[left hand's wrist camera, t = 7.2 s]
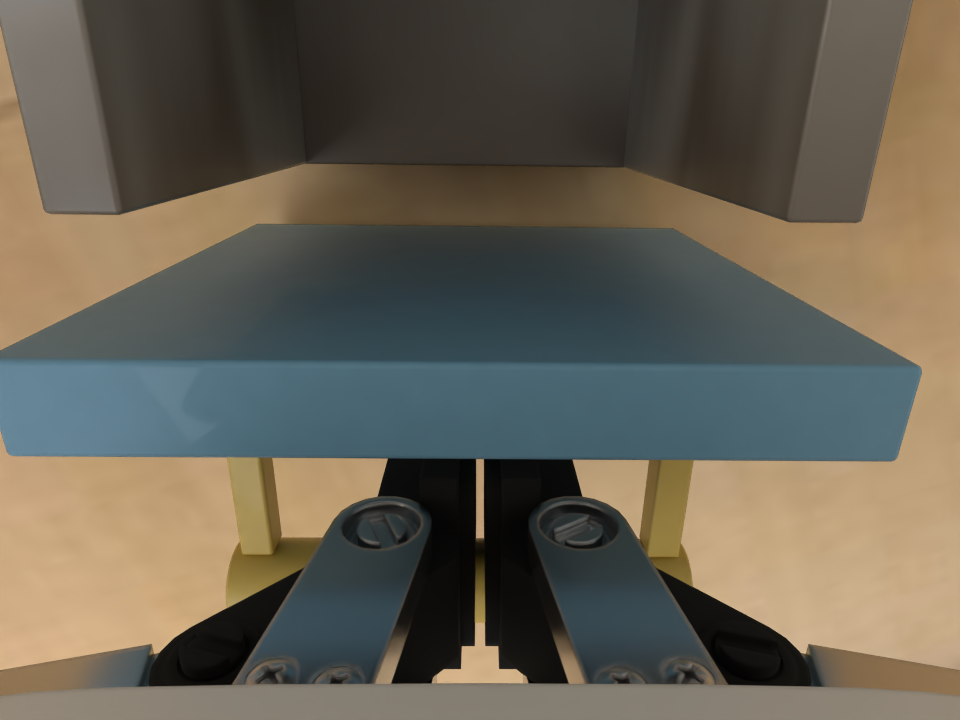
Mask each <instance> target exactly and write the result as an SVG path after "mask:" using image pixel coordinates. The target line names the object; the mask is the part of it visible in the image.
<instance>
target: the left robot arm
mask: <svg viewBox="0 0 960 720" xmlns="http://www.w3.org/2000/svg"><path fill="white" fill-rule="evenodd" d="M484 561H485V646H498V648H499V669H517V670H518V671H520V672H521V673H522V674H523V684H511V683H449V684H437V674H438V673H439V672H441V671H442V670H443V669H461V650H462V646H475V567H476V459H413V458H388V461H387V464H386V468H385V472H384V475H383V479H382V483H381V486H380V490H379V494H378V497H374V498H369V499H365V500H362V501H359V502H357V503H354V504H352V505H350V506H349V507H347V508H346V509H344V510H342V511H341V512H340V513H339V515H338V516H337V517H336V518H335V519H334V520H333V522H332V524H331V525H330V527H329V528H328V530H327V532H326V533H325V535H324V537H323V538H322V540H321V541H320V543H319V545H318V546H317V548H316V550H315V551H314V553H313V554H312V556H311V558H310V559H309V561H308V562H307V564H306V566H305V567H304V568H302V569H300V570H298V571H297V572H295V573H293V574H291V575H289V576H287V577H285V578H283V579H281V580H279V581H278V582H276V583H274V584H272V585H270V586H268V587H266V588H264V589H262V590H261V591H259V592H257V593H255V594H253V595H251V596H249V597H247V598H245V599H244V600H242V601H240V602H238V603H236V604H234V605H232V606H230V607H228V608H226V609H225V610H223V611H221V612H219V613H217V614H215V615H213V616H211V617H209V618H208V619H206V620H204V621H202V622H200V623H198V624H196V625H194V626H192V627H191V628H189V629H188V630H186V631H184V632H183V633H181V634H180V635H178V636H177V637H175V638H174V639H173V640H172V641H171V642H170V643H169V644H168V645H167V646H166V647H165V648H164V649H163V650H162V651H161V652H160V653H157V654H154V652H153V648H152V644H150V645H144V646H138V647H132V648H126V649H121V650H115V651H109V652H103V653H97V654H92V655H86V656H80V657H74V658H69V659H63V660H57V661H51V662H45V663H40V664H34V665H28V666H22V667H17V668H11V669H5V670H0V720H960V670H955V669H949V668H943V667H938V666H932V665H926V664H920V663H915V662H909V661H903V660H897V659H891V658H886V657H880V656H874V655H868V654H863V653H857V652H851V651H845V650H839V649H834V648H828V647H822V646H816V645H811V644H808V648H807V652H806V654H803V653H800V652H799V651H798V650H797V649H796V648H795V647H794V646H793V645H792V644H791V643H790V642H789V641H788V640H787V639H786V638H785V637H783V636H782V635H780V634H779V633H777V632H776V631H774V630H773V629H771V628H770V627H768V626H766V625H764V624H762V623H760V622H758V621H756V620H754V619H753V618H751V617H749V616H747V615H745V614H743V613H741V612H739V611H737V610H735V609H734V608H732V607H730V606H728V605H726V604H724V603H722V602H720V601H718V600H717V599H715V598H713V597H711V596H709V595H707V594H705V593H703V592H701V591H700V590H698V589H696V588H694V587H692V586H690V585H688V584H686V583H684V582H682V581H681V580H679V579H677V578H675V577H673V576H671V575H669V574H667V573H665V572H664V571H662V570H660V569H658V568H656V567H655V566H654V564H653V562H652V561H651V559H650V558H649V556H648V554H647V553H646V551H645V550H644V548H643V546H642V545H641V543H640V541H639V540H638V538H637V537H636V535H635V533H634V532H633V530H632V528H631V527H630V525H629V524H628V522H627V520H626V519H625V518H624V517H623V516H622V515H621V513H620V512H619V511H618V510H616V509H614V508H613V507H611V506H610V505H608V504H606V503H603V502H601V501H598V500H595V499H591V498H586V497H582V493H581V490H580V486H579V482H578V479H577V475H576V471H575V468H574V464H573V460H572V459H484Z"/></svg>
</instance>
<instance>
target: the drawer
mask: <svg viewBox="0 0 960 720" xmlns="http://www.w3.org/2000/svg"><path fill="white" fill-rule="evenodd" d="M912 2H913V0H0V26H1V30H2V34H3V38H4V43H5V47H6V51H7V55H8V60H9V64H10V68H11V72H12V76H13V81H14V85H15V89H16V93H17V98H18V102H19V106H20V110H21V115H22V119H23V123H24V127H25V132H26V136H27V140H28V144H29V149H30V153H31V157H32V161H33V166H34V170H35V174H36V178H37V183H38V187H39V191H40V195H41V200H42V204H43V208H44V210H45V212H47V213H50V214H92V215H120V214H124V213H128V212H131V211H135V210H138V209H142V208H146V207H149V206H153V205H157V204H160V203H164V202H167V201H171V200H175V199H178V198H182V197H186V196H189V195H193V194H197V193H200V192H204V191H207V190H211V189H215V188H218V187H222V186H226V185H229V184H233V183H237V182H240V181H244V180H247V179H251V178H255V177H258V176H262V175H266V174H269V173H273V172H276V171H280V170H284V169H287V168H291V167H295V166H298V165H302V164H382V165H464V166H545V167H625V168H628V169H631V170H634V171H637V172H640V173H643V174H646V175H649V176H652V177H655V178H658V179H661V180H664V181H667V182H670V183H673V184H676V185H679V186H682V187H685V188H688V189H691V190H694V191H697V192H700V193H703V194H706V195H709V196H712V197H715V198H718V199H721V200H724V201H727V202H730V203H733V204H736V205H739V206H742V207H745V208H748V209H751V210H754V211H757V212H760V213H763V214H766V215H769V216H772V217H775V218H778V219H781V220H784V221H787V222H809V223H857V222H860V221H861V220H862V218H863V214H864V210H865V206H866V201H867V197H868V193H869V188H870V184H871V180H872V175H873V171H874V167H875V162H876V158H877V154H878V149H879V145H880V141H881V136H882V132H883V128H884V123H885V119H886V115H887V110H888V106H889V102H890V97H891V93H892V89H893V84H894V80H895V76H896V71H897V67H898V62H899V58H900V54H901V49H902V45H903V41H904V36H905V32H906V28H907V23H908V19H909V15H910V10H911V6H912ZM921 374H922V371H921V368H920V366H918V365H916V364H915V363H913V362H911V361H909V360H907V359H906V358H904V357H902V356H900V355H898V354H897V353H895V352H893V351H891V350H890V349H888V348H886V347H884V346H882V345H881V344H879V343H877V342H875V341H873V340H872V339H870V338H868V337H866V336H864V335H863V334H861V333H859V332H857V331H856V330H854V329H852V328H850V327H848V326H847V325H845V324H843V323H841V322H839V321H838V320H836V319H834V318H832V317H830V316H829V315H827V314H825V313H823V312H821V311H820V310H818V309H816V308H814V307H813V306H811V305H809V304H807V303H805V302H804V301H802V300H800V299H798V298H796V297H795V296H793V295H791V294H789V293H787V292H786V291H784V290H782V289H780V288H779V287H777V286H775V285H773V284H771V283H770V282H768V281H766V280H764V279H762V278H761V277H759V276H757V275H755V274H753V273H752V272H750V271H748V270H746V269H745V268H743V267H741V266H739V265H737V264H736V263H734V262H732V261H730V260H728V259H727V258H725V257H723V256H721V255H719V254H718V253H716V252H714V251H712V250H711V249H709V248H707V247H705V246H703V245H702V244H700V243H698V242H696V241H694V240H693V239H691V238H689V237H687V236H685V235H684V234H682V233H680V232H678V231H677V230H675V229H673V228H584V227H492V226H401V225H310V224H256V225H254V226H252V227H250V228H248V229H246V230H244V231H242V232H240V233H238V234H236V235H234V236H232V237H230V238H228V239H226V240H224V241H222V242H220V243H218V244H215V245H213V246H211V247H209V248H207V249H205V250H203V251H201V252H199V253H197V254H195V255H193V256H191V257H189V258H187V259H185V260H183V261H181V262H179V263H177V264H175V265H173V266H171V267H169V268H167V269H165V270H163V271H161V272H159V273H157V274H155V275H153V276H151V277H149V278H147V279H144V280H142V281H140V282H138V283H136V284H134V285H132V286H130V287H128V288H126V289H124V290H122V291H120V292H118V293H116V294H114V295H112V296H110V297H108V298H106V299H104V300H102V301H100V302H98V303H96V304H94V305H92V306H90V307H88V308H86V309H84V310H82V311H80V312H78V313H76V314H74V315H71V316H69V317H67V318H65V319H63V320H61V321H59V322H57V323H55V324H53V325H51V326H49V327H47V328H45V329H43V330H41V331H39V332H37V333H35V334H33V335H31V336H29V337H27V338H25V339H23V340H21V341H19V342H17V343H15V344H13V345H11V346H9V347H7V348H5V349H3V350H0V430H1V434H2V437H3V440H4V444H5V447H6V450H7V452H8V454H9V455H12V456H81V457H227V459H228V466H229V472H230V479H231V486H232V492H233V499H234V505H235V512H236V518H237V525H238V531H239V538H240V542H239V543H238V545H237V546H236V548H235V550H234V553H233V556H232V558H231V562H230V565H229V570H228V575H227V583H226V603H227V608H228V607H230V606H232V605H234V604H236V603H238V602H240V601H242V600H244V599H245V598H247V597H249V596H251V595H253V594H255V593H257V592H259V591H261V590H262V589H264V588H266V587H268V586H270V585H272V584H274V583H276V582H278V581H279V580H281V579H283V578H285V577H287V576H289V575H291V574H293V573H295V572H297V571H298V570H300V569H302V568H304V567H305V566H306V564H307V562H308V561H309V559H310V558H311V556H312V554H313V553H314V551H315V550H316V548H317V546H318V545H319V543H320V541H321V540H322V538H281V536H282V534H281V526H280V518H279V510H278V502H277V494H276V485H275V477H274V469H273V461H272V458H413V459H579V460H649V467H648V475H647V483H646V491H645V499H644V506H643V514H642V522H641V530H640V539H638V540H639V541H640V543H641V545H642V546H643V548H644V550H645V551H646V553H647V554H648V556H649V558H650V559H651V561H652V562H653V564H654V566H655V567H656V568H658V569H660V570H662V571H664V572H665V573H667V574H669V575H671V576H673V577H675V578H677V579H679V580H681V581H682V582H684V583H686V584H688V585H690V586H692V587H693V584H692V575H691V569H690V564H689V561H688V557H687V554H686V552H685V549H684V547H683V546H682V544H681V537H682V531H683V524H684V518H685V512H686V505H687V499H688V492H689V486H690V479H691V473H692V467H693V460H744V461H894V460H895V459H896V458H897V457H898V453H899V450H900V446H901V443H902V439H903V436H904V433H905V429H906V426H907V422H908V419H909V415H910V412H911V408H912V405H913V401H914V398H915V395H916V391H917V388H918V384H919V381H920V377H921ZM475 623H485V561H484V538H476V567H475Z"/></svg>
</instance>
